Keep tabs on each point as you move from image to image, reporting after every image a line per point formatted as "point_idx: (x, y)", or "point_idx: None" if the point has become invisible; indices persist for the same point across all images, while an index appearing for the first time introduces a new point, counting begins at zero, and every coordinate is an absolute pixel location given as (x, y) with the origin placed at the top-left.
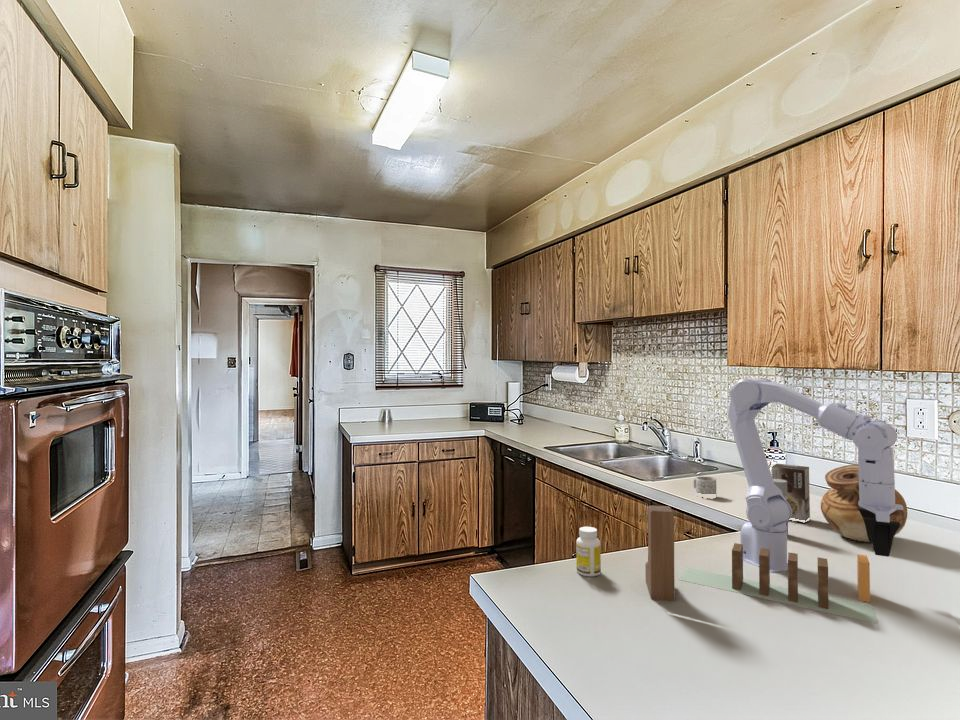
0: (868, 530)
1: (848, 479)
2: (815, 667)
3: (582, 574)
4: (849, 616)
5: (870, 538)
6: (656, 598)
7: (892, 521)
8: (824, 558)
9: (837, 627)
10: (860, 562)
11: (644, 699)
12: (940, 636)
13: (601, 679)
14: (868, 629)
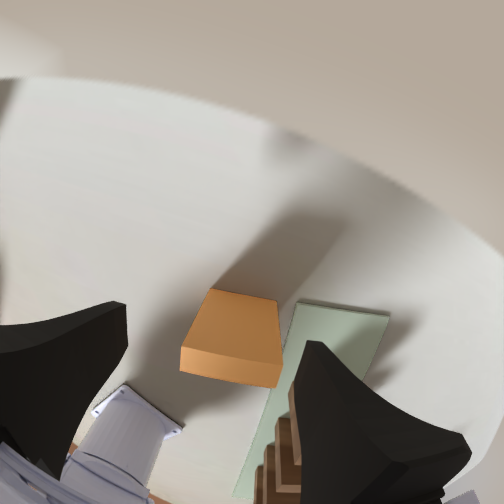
0: (98, 385)
1: None
2: (479, 390)
3: None
4: (370, 358)
5: (118, 357)
6: None
7: (388, 493)
8: (299, 456)
9: (402, 374)
10: (275, 385)
11: (481, 452)
12: (404, 206)
13: (461, 471)
14: (404, 333)
